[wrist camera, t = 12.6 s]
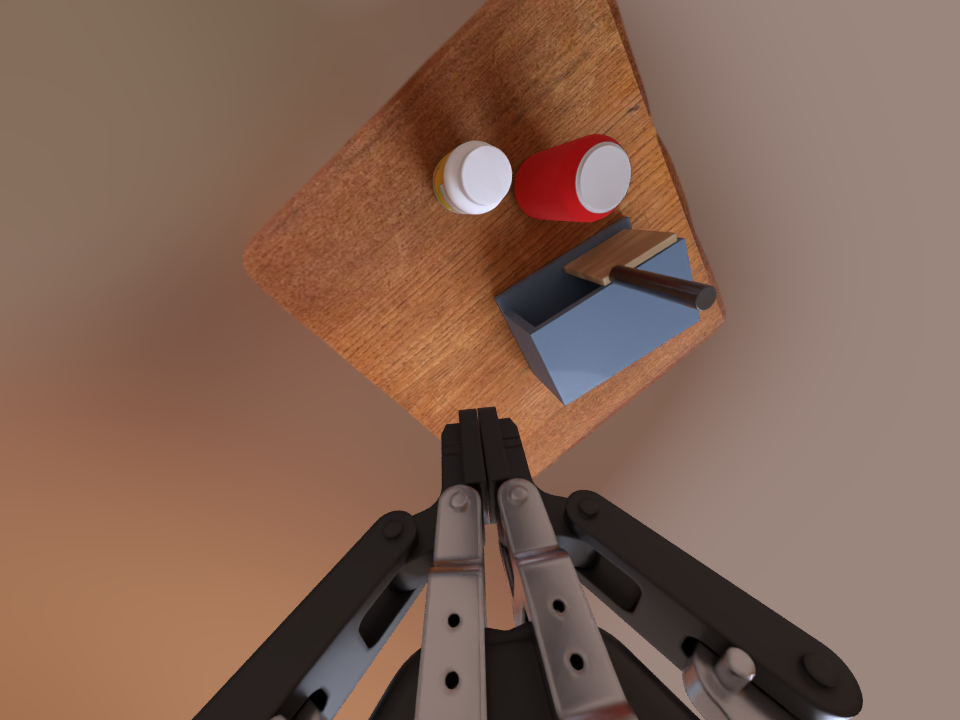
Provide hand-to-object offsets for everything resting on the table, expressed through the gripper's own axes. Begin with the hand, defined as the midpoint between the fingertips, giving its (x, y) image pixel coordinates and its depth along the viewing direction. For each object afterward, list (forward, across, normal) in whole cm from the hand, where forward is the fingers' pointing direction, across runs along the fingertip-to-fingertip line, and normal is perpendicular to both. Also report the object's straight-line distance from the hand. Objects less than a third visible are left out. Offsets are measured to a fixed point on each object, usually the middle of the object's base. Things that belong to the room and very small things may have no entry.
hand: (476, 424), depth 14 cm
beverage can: (+29, -9, -6) cm, 31 cm away
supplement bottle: (+28, -1, -6) cm, 29 cm away
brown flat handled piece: (+28, -16, +1) cm, 32 cm away
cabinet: (+28, -15, +7) cm, 33 cm away
